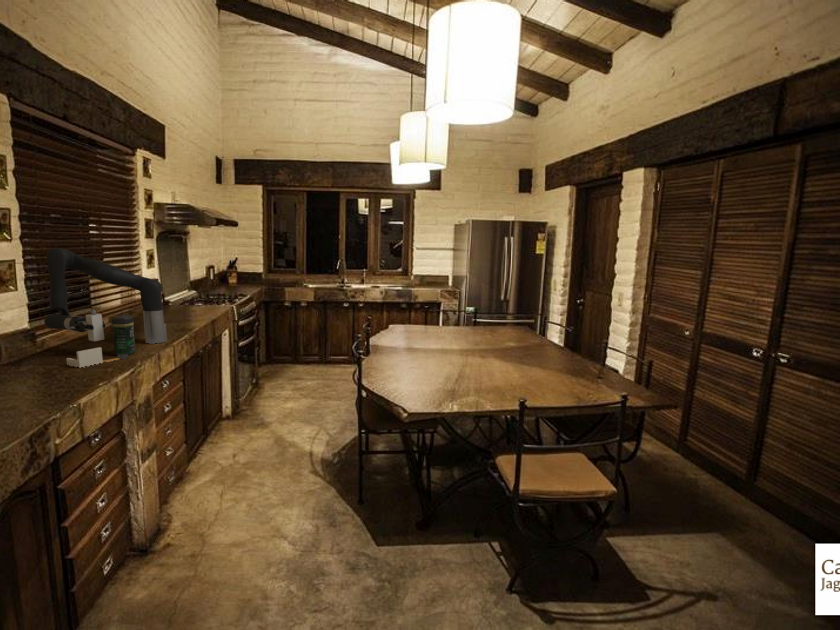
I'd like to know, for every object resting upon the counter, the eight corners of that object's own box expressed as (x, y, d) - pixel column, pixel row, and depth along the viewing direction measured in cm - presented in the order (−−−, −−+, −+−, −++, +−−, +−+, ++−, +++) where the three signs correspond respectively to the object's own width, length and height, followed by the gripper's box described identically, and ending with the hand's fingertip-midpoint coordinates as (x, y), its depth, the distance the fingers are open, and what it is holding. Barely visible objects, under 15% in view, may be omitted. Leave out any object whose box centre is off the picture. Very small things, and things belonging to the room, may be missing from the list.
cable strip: (114, 357, 220) (114, 356, 220) (121, 359, 218) (121, 357, 218) (92, 362, 212) (92, 361, 212) (99, 363, 209) (99, 362, 209)
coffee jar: (130, 356, 224) (127, 317, 221) (112, 356, 223) (108, 317, 220) (138, 351, 233) (135, 313, 230) (121, 351, 232) (117, 314, 229)
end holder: (90, 360, 215) (88, 345, 214) (102, 363, 211) (101, 347, 210) (67, 365, 207) (65, 349, 206) (79, 368, 203) (78, 352, 201)
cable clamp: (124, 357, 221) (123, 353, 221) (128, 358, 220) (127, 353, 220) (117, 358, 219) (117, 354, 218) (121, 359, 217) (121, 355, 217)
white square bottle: (98, 338, 227) (95, 309, 224) (104, 339, 225) (100, 309, 222) (88, 340, 223) (85, 310, 220) (94, 341, 221) (90, 311, 218)
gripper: (59, 318, 222) (81, 321, 214) (91, 313, 235) (113, 316, 227) (61, 334, 223) (83, 337, 216) (93, 328, 236) (115, 331, 228)
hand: (98, 326), depth 221 cm, fingers closed on white square bottle, 4 cm apart
